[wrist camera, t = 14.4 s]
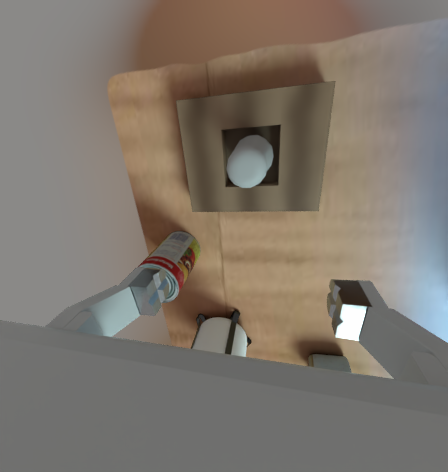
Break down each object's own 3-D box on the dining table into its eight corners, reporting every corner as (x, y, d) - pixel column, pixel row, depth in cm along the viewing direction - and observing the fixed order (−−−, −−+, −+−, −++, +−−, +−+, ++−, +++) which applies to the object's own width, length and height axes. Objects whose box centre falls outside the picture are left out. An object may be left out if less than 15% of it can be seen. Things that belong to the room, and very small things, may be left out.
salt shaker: (231, 141, 32) (210, 147, 21) (268, 129, 30) (268, 128, 19) (240, 178, 34) (226, 202, 23) (276, 169, 33) (279, 190, 21)
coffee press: (185, 330, 56) (110, 506, 30) (213, 295, 48) (146, 490, 22) (239, 361, 57) (214, 555, 31) (274, 331, 50) (280, 556, 24)
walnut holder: (327, 87, 28) (335, 80, 24) (313, 202, 35) (318, 210, 31) (186, 103, 32) (175, 100, 28) (199, 204, 39) (192, 211, 35)
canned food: (167, 261, 47) (138, 299, 36) (162, 229, 43) (128, 261, 33) (201, 265, 45) (181, 305, 35) (199, 232, 42) (175, 266, 31)
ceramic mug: (307, 346, 50) (312, 380, 43) (345, 349, 48) (357, 385, 41) (307, 373, 55) (312, 407, 48) (341, 376, 53) (352, 412, 46)
